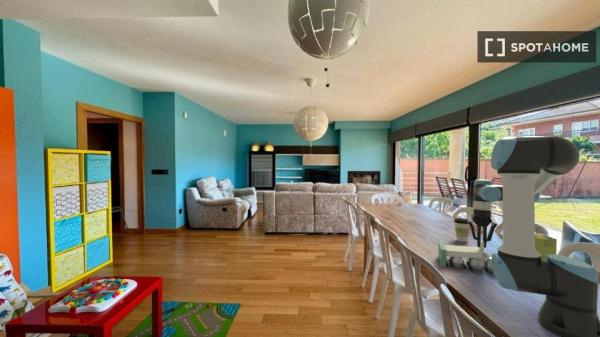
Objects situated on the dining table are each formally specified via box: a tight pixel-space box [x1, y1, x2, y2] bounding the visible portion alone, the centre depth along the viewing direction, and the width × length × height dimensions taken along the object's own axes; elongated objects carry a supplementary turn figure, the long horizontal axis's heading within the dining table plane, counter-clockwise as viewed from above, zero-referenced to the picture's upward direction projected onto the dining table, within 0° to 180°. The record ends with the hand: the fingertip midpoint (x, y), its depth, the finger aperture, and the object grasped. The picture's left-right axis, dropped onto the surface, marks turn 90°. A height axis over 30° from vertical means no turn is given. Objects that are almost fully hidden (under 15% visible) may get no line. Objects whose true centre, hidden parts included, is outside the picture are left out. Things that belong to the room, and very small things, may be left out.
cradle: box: [446, 256, 470, 271], centre depth 137 cm, size 14×9×2 cm, turn 156°
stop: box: [438, 241, 447, 268], centre depth 140 cm, size 14×2×9 cm, turn 156°
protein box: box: [535, 233, 558, 259], centre depth 137 cm, size 10×15×16 cm
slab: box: [444, 244, 482, 259], centre depth 136 cm, size 10×16×3 cm, turn 66°
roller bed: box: [466, 252, 494, 275], centre depth 131 cm, size 14×21×6 cm, turn 66°
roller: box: [448, 256, 465, 269], centre depth 137 cm, size 12×6×6 cm
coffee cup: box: [453, 217, 471, 243], centre depth 177 cm, size 10×10×15 cm
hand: (481, 253), depth 132 cm, fingers closed
